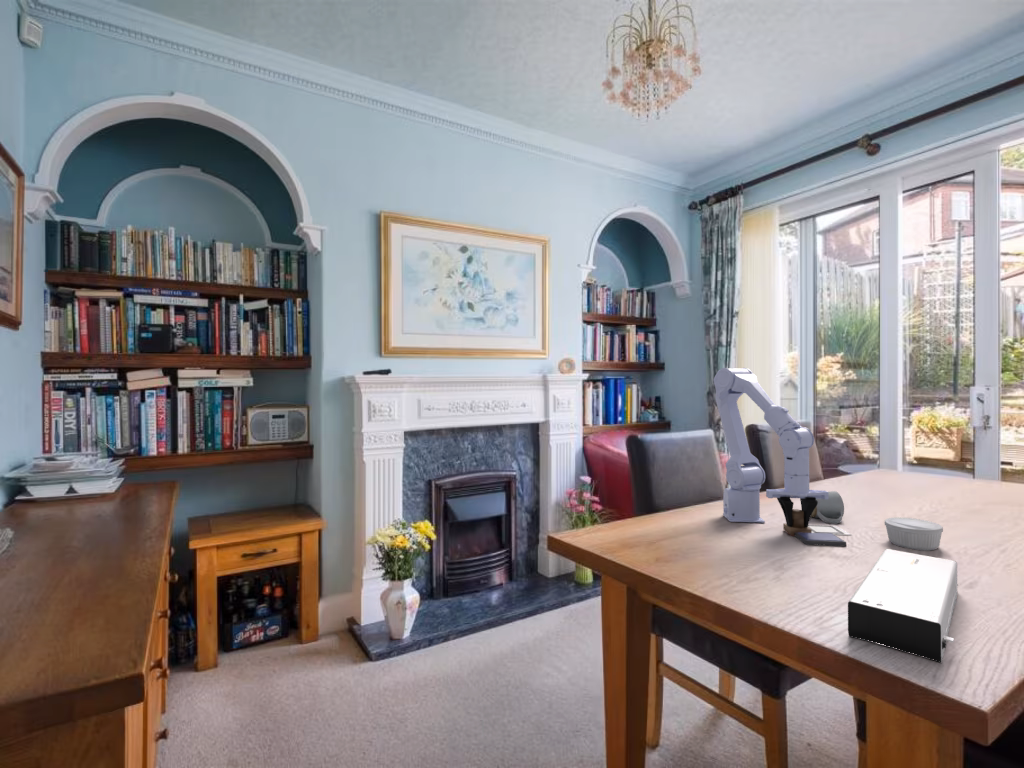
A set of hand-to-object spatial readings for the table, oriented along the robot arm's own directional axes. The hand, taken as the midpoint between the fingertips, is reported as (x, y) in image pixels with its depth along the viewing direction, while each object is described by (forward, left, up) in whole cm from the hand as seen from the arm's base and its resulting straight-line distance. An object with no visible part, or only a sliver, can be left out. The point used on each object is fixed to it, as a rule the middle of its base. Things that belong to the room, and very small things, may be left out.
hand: (797, 525), depth 134 cm
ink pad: (+3, -6, -2) cm, 7 cm away
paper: (+8, +4, -2) cm, 9 cm away
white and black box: (+1, -46, -3) cm, 46 cm away
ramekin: (+24, -6, -2) cm, 25 cm away
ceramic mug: (+14, +16, -2) cm, 22 cm away
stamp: (0, 0, -2) cm, 2 cm away
